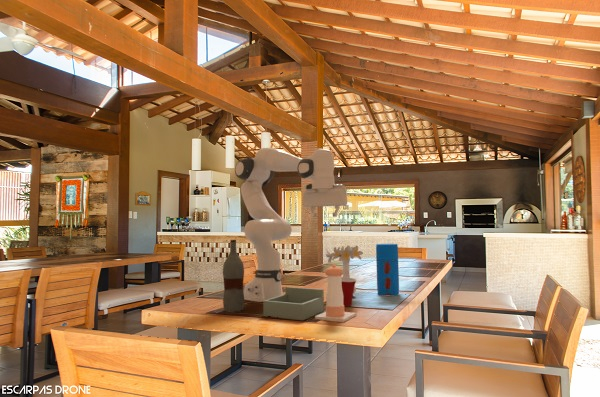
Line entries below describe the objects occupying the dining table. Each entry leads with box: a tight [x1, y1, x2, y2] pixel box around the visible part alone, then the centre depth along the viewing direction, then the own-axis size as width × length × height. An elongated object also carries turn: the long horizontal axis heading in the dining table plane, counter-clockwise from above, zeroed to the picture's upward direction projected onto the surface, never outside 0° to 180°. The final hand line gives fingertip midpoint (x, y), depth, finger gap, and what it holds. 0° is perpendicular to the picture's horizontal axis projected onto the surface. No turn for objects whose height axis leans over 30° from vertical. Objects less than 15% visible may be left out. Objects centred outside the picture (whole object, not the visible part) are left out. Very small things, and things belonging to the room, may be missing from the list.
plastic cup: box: [341, 276, 358, 308], centre depth 190 cm, size 11×11×12 cm
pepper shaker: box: [325, 264, 346, 317], centre depth 167 cm, size 7×7×19 cm
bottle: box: [222, 239, 246, 313], centre depth 184 cm, size 9×9×30 cm
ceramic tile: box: [314, 311, 357, 323], centre depth 167 cm, size 12×12×1 cm
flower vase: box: [325, 245, 364, 295], centre depth 213 cm, size 13×18×25 cm
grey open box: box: [262, 286, 325, 321], centre depth 175 cm, size 18×18×9 cm
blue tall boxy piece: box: [375, 243, 400, 297], centre depth 218 cm, size 11×11×25 cm
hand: (325, 217), depth 187 cm, fingers open, 8 cm apart
